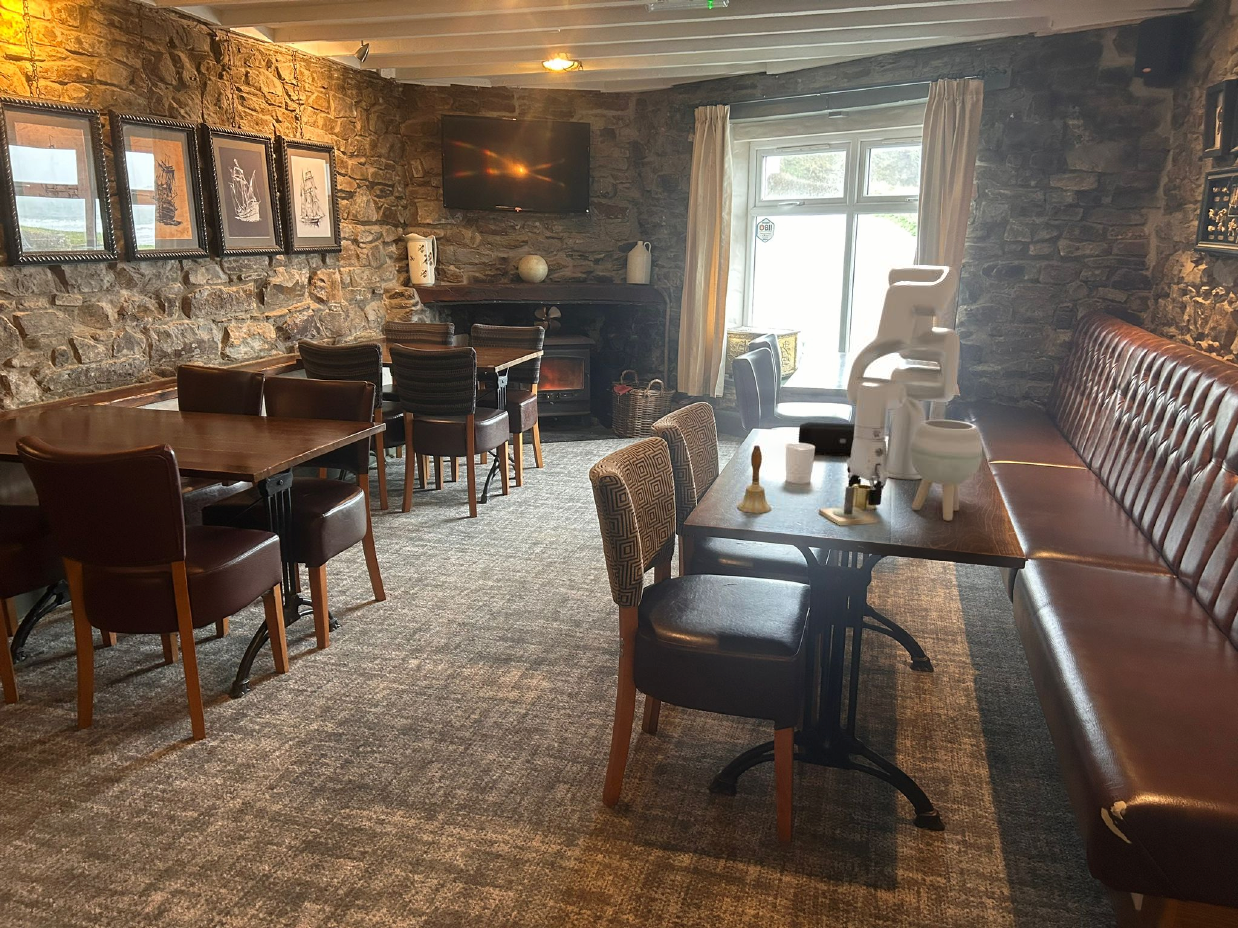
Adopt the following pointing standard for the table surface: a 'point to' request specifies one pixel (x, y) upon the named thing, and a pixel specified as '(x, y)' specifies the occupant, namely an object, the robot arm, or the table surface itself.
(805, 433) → the portable speaker
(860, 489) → the collar
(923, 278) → the robot arm
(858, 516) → the post stand
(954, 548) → the table surface
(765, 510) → the hand bell
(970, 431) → the planter
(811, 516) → the table surface
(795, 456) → the white cup
